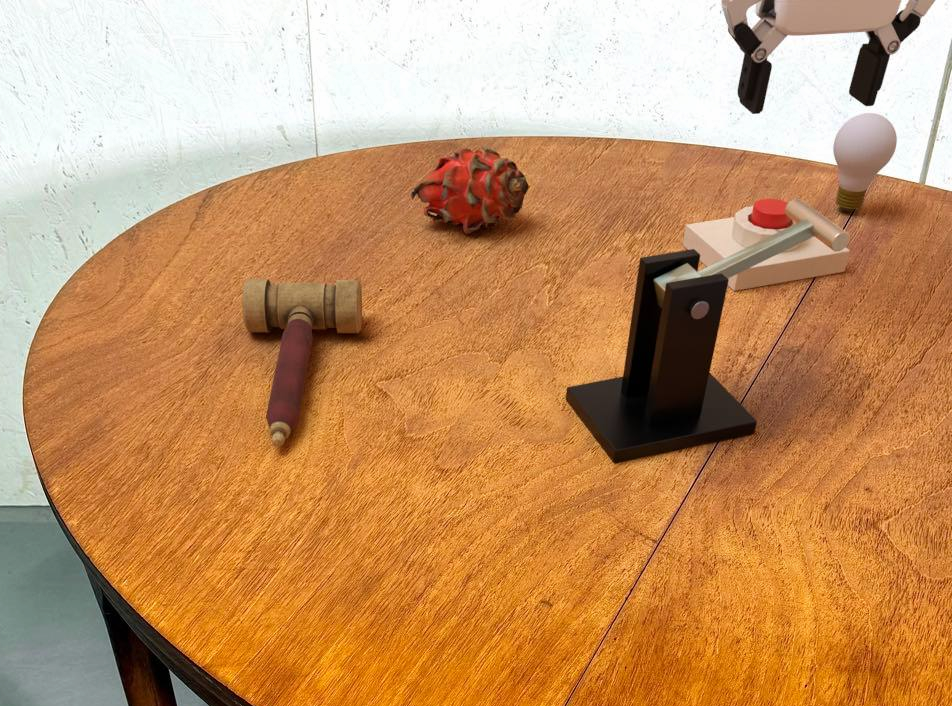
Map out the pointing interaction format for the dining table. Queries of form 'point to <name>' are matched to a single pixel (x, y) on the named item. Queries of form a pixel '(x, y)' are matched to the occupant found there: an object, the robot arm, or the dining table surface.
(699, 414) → the bracket
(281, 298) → the gavel
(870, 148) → the light bulb
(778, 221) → the button
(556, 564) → the dining table surface
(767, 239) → the lever
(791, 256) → the button box
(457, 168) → the dragon fruit
